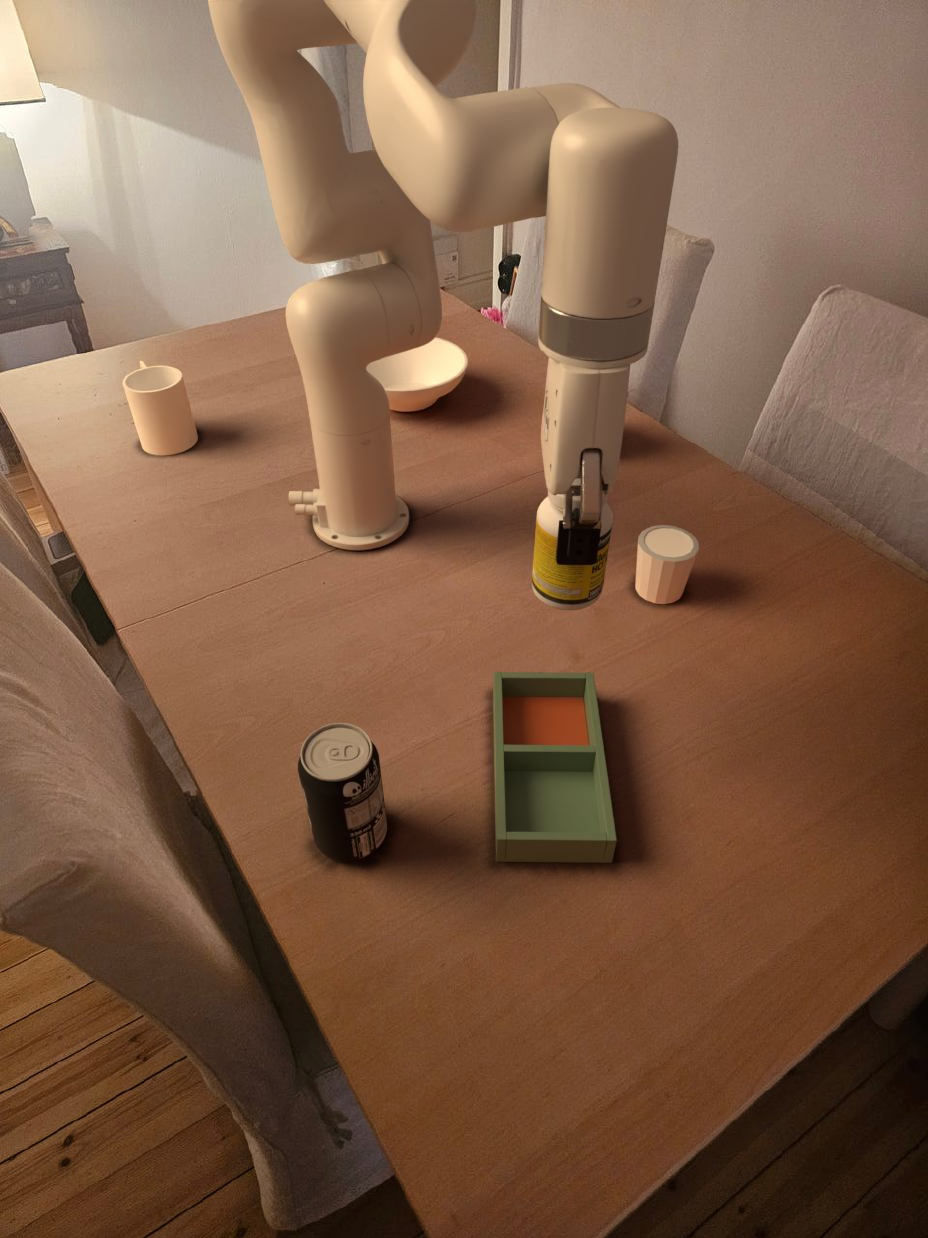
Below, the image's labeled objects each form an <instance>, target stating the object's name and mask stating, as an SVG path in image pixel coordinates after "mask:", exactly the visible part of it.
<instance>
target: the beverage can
mask: <svg viewBox="0 0 928 1238" xmlns="http://www.w3.org/2000/svg"><path fill="white" fill-rule="evenodd" d="M297 773H298V777H299V781H300V786H301V791H302V794H303V795H302V796H303V799H304V803H305V807H306V811H307V816H308V820H309V826H310V829H311V833H312V837H313V841H314V844H315V845H316V847H317V849H318V850H319V852H320V853H322V854H323V855H324V856H326V857H328V858H330V859H332V860H334V861H338V862H344V863H345V862H355V861H359V860H363V859H365V858H367V857H369V856H371V855H372V854H373V853H375V852H376V851H377V850H378V849H379V848H380V846H381V845H382V844H383V842H384V840H385V838H386V835H387V831H388V820H387V812H386V804H385V796H384V785H383V779H382V771H381V761H380V755H379V751H378V748H377V747H376V745H375V743H374V742H373V741H372V739H371V737H370V736H369V735H368V733H367V732H366V731H365V730H364V729H363V728H361V727H359V726H358V725H355V724H352V723H347V722H334V723H329V724H326V725H323V726H321V727H319V728H317V729H315V730H314V731H312V732H311V733H310V734H309V735H308V736H307V737H306V739H305V740H304V742H303V743H302V745H301V748H300V755H299V758H298V762H297Z"/></svg>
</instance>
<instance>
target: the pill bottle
mask: <svg viewBox="0 0 928 1238" xmlns="http://www.w3.org/2000/svg"><path fill="white" fill-rule="evenodd" d="M572 485H580V479H575V480H574V482H573V483H572ZM580 499H581V496H573V502H572V511H573V510H574V509H575V508H579V506H580ZM607 500H608V495H605V494H604V492H603V498H602V515H601V523H602V526H601V533H600V540H599V547H598V555H597V561H596V563H595V564H594V565H558V564H557V563H556V548H557V537H558V527H559V520H563V510H564V494H557V495H552V494H551V493H550V492H549V490H548V489H547V496H546V497H545V498H544V499H543V500H542V502H541V503H540V504H539V506H538V508H537V511H536V520H535V532H534V533H535V534H534V549H533V558H532V559H533V560H532V571H531V572H532V573H531V588H532V591H533V594H534V595H535V597H536V598H537V599H538V600H539V601H540V602H542V603H543V604H545V605H546V606H549V607H551V608H553V609H557V610H561V611H579V610H583V609H586V608H589V607H590V606H592V605H594V604H595V603H596V602H597V601H598V600H599V598H600V597H601V595H602V593H603V589H604V585H605V584H604V582H605V576H606V571H607V570H606V569H607V564H608V563H607V562H608V555H609V549H610V543H611V537H612V531H613V525H614V517H613V516H614V514H613V510H612V508H611V507H610V505H609V504H608V502H607Z"/></svg>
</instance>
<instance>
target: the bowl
mask: <svg viewBox="0 0 928 1238" xmlns="http://www.w3.org/2000/svg"><path fill="white" fill-rule="evenodd" d="M468 365H469V357H468V355H467V353H466V351H464V349H463V348H462V347H460V346H459V345H457V344H455V343H454V342H452V341H449V340H447V339H444V338H441V337H438V336H436V337H435V338H434V339H433V340H432V341H431V342H429V343H428V344H426V345H423V346H421V347H418V348H415V349H412V350H409V351H405V352H402V353H398V354H395V355H391V356H388V357H385V358H382V359H380V360H376V361H374V362H371V363H369V364H368V365H367V367H366V369H367V372H369V373H370V374H371V375H373V376H374V377H375V378H376V379H377V380H378V381H379V382H380V383H381V384H382V386H383V387H384V389H385V391H386V393H387V396H388V400H389V409H390V411H394V412H401V413H402V412H408V413H409V412H416V411H421V410H424V409H427V408H429V407H431V406H433V405H434V404H435V403H436V402H437V400H438V399H439V398H441V397H443V396H446V395H447V394H449V393H451V392H452V391H453V390H455V388H456V387H457V386H458V385H459V384H460V383H461V381H462V380H463V378H464V376H465V375H466V373H467V371H468V370H467V369H468Z"/></svg>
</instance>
